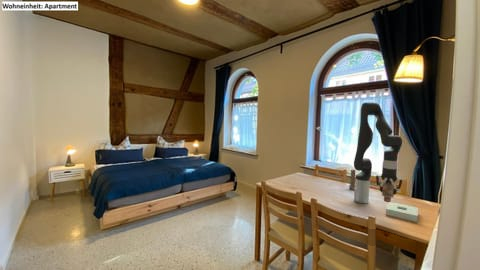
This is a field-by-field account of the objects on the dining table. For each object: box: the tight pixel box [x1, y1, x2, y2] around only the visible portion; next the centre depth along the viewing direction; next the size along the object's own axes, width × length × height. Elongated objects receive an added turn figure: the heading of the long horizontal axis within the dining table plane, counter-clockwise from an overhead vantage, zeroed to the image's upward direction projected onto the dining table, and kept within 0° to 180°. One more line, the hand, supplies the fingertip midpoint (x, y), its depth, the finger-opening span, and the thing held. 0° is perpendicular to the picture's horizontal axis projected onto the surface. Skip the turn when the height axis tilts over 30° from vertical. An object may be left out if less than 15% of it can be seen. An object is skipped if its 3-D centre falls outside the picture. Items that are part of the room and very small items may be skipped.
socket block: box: [385, 201, 419, 223], centre depth 140 cm, size 16×16×4 cm
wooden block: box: [348, 168, 356, 191], centre depth 191 cm, size 4×11×18 cm, turn 99°
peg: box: [381, 183, 394, 203], centre depth 134 cm, size 6×6×12 cm
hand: (387, 193), depth 134 cm, fingers closed on peg, 6 cm apart
